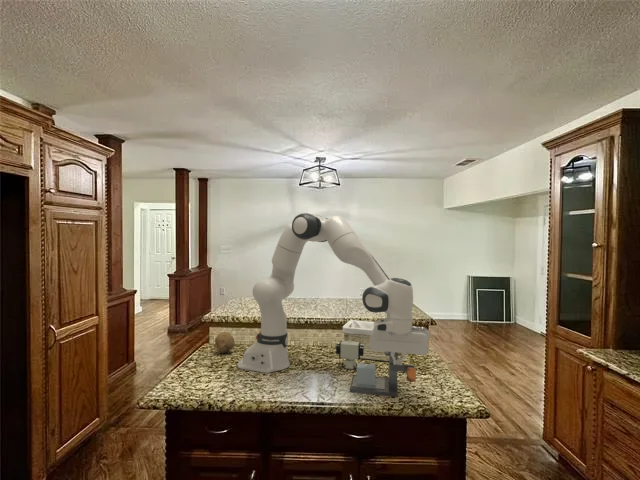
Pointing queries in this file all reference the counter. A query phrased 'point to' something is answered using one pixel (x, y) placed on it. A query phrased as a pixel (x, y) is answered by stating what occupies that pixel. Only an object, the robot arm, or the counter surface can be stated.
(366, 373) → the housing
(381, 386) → the press
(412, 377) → the lever
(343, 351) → the pneumatic valve
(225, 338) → the natural sponge
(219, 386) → the counter surface
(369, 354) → the storage basket
